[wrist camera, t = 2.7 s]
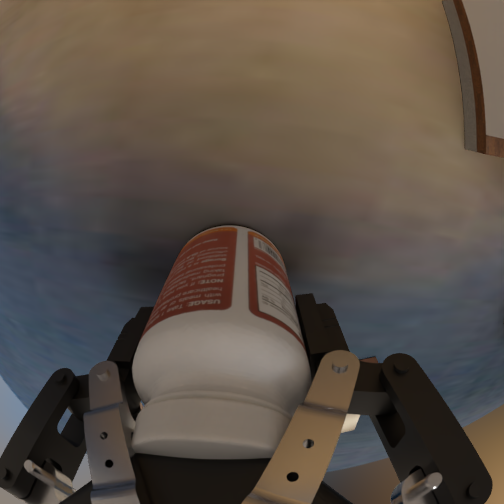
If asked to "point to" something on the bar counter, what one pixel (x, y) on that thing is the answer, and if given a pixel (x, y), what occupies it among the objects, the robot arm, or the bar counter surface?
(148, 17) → the bar counter surface
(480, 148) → the white square tower
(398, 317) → the bar counter surface
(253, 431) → the pill bottle
